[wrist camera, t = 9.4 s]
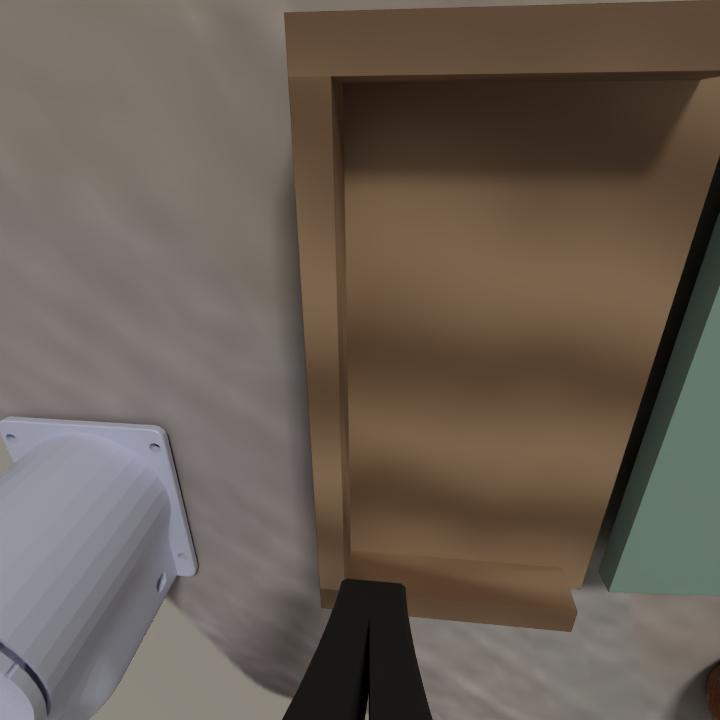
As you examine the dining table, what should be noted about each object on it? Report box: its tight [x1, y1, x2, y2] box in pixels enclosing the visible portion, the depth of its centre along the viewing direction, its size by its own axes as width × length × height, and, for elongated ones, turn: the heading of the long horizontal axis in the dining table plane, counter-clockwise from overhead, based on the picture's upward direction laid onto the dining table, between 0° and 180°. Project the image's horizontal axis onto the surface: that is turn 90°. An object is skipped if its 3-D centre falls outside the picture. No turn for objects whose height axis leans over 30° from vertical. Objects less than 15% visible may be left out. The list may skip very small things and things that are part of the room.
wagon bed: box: [284, 0, 720, 632], centre depth 16 cm, size 20×11×4 cm, turn 0°
